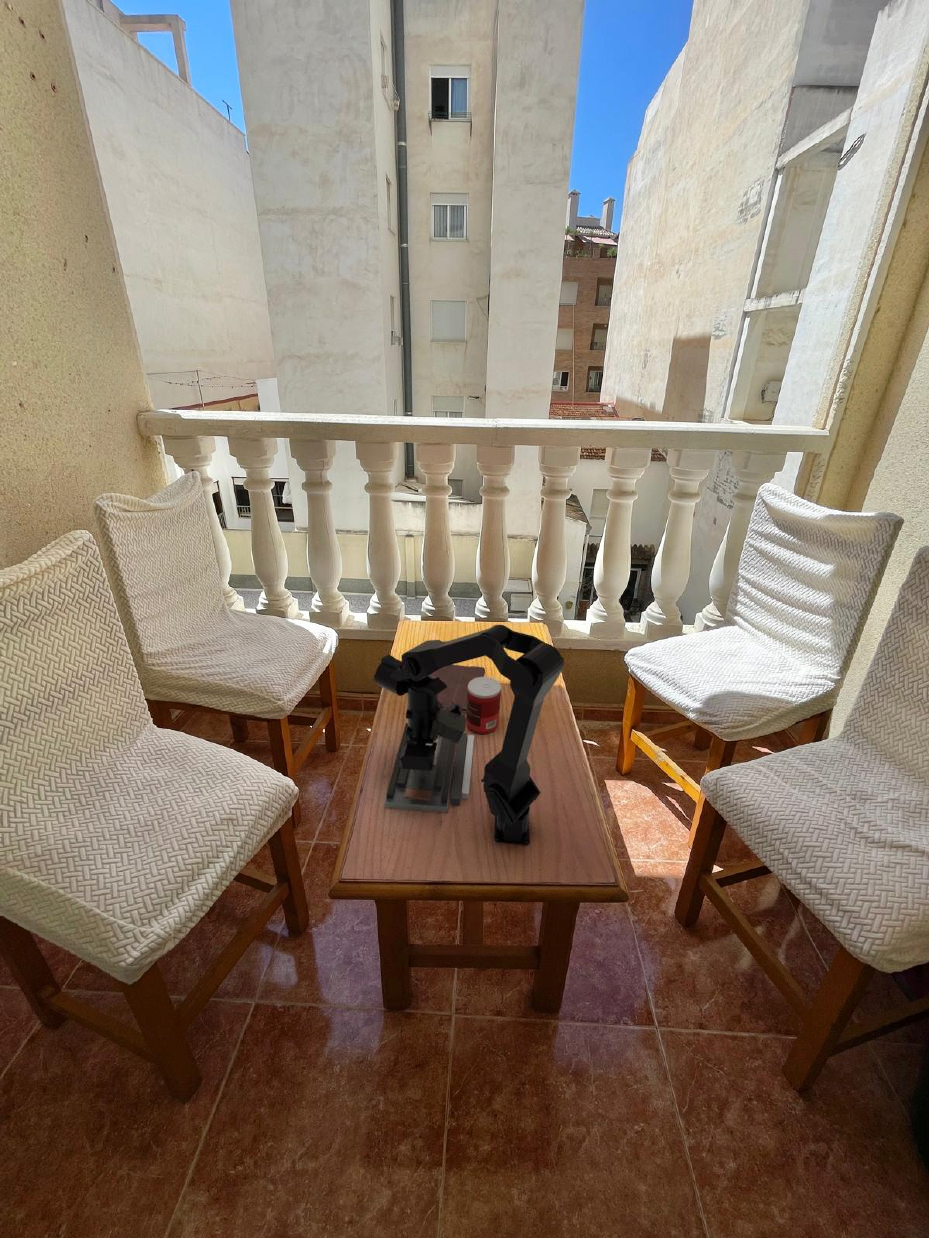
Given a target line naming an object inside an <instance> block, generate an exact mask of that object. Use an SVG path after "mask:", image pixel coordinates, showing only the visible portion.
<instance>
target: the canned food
mask: <svg viewBox="0 0 929 1238" xmlns="http://www.w3.org/2000/svg"><path fill="white" fill-rule="evenodd" d="M501 697H502V685H501V682H500V681H499V680H497V679H495V678H492V677H489V676H484V677H478V678H475V679H473V680H471V681H470V682H469V684H468V689H467V713H466V714H465V718H466V727H467V728H468V730H469V731H471V732H472V733H474V734H479V735H486V734H490V733H493V732H494V731H495V730H497V728H498V726H499V720H500V712H501V711H500V709H501V706H500V705H501V699H502V698H501Z"/></svg>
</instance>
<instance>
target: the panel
mask: <svg viewBox="0 0 929 1238" xmlns="http://www.w3.org/2000/svg"><path fill="white" fill-rule="evenodd" d="M407 726H408V722H406V723H405V725H404V728H403V733H402V736H401V739H400V744H399V747H398V750H397V753H396V757H395V761H394V765H393V769H392V772H391V776H390V779H389V783H388V785H387V790H386V796H385V802H384V803H385V804H384V805H385V806H384V807H385V808H386V809H399V810H409V811H422V812H434V813H435V812H436V813H445V814H446V813H447V812H448V806H449V802H450V801H449V799H450V794H451V785H452V780H453V773H454V765H455V763H454V762H455V758H456V757H455V756H456V751H457V743H455V742H452V740H449V739H446V738H444V737H441V736H439V737H438V757H437V762H436V765H433V769H432V770H430V771H425V770H412V769H402V768H401V767H400V755H401V751H402V747H403V746H405V745H406V743H407V740H410V739H409V736H407V735H406V730H407Z"/></svg>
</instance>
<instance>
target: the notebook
mask: <svg viewBox="0 0 929 1238" xmlns="http://www.w3.org/2000/svg"><path fill="white" fill-rule="evenodd" d="M485 673H486V669H485V667H482V666H476V665H471V666H468V665H459V664H452V665H448V666H445V667H442V668H440V669H439V670H437V671H435V672H434V673H432V674H430V675H431V676H433V677H435V678H436V677H439V678H440V680H441V681H443V682H444V683H445V684H446V685H447V688H446V689H445V690H443V691H442V692H440V693H439V694H437V701H439V702H440V703H441V704H442V705H443V710H446V708H449V707H450V706H452V705H453V704H455V703H456V704H459V705H461V709H462V714H464V715H466V713H467V689H468V684H469V682H470V681H471V680H473V679H475V678H478V677H485Z"/></svg>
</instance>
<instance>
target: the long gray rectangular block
mask: <svg viewBox="0 0 929 1238" xmlns="http://www.w3.org/2000/svg"><path fill="white" fill-rule="evenodd" d="M474 743H475V734H473V735H472V734H468V733H467V732H464V733H463V735H462V737H461V739H460V741H459V742H458V743H457V746H456V753H455V756H456V757H455V761H454V762H455V763H454V768H453V776H452V784H451V785H452V787H451V791H450V803H449V804H450V806H457V807H460V805H461V799H465V800H466V799H467V800H469V797H470V788H471V787H470V785H471V775H472V763H473V756H474V754H473V753H474Z"/></svg>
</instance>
